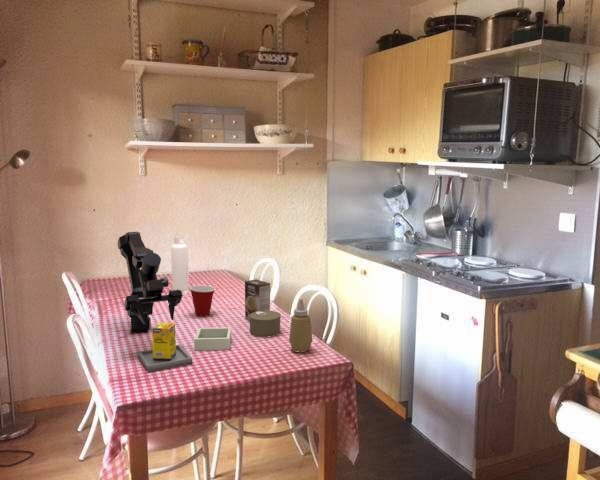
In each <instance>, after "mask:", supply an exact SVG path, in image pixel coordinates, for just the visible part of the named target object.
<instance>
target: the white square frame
mask: <svg viewBox="0 0 600 480" xmlns="http://www.w3.org/2000/svg"><path fill="white" fill-rule="evenodd" d="M231 343H232V327H199V328H197V331H196V334H195V336H194V351H226V350H228V351H229V350H230V349H231Z"/></svg>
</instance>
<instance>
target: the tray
mask: <svg viewBox="0 0 600 480" xmlns="http://www.w3.org/2000/svg"><path fill="white" fill-rule="evenodd" d="M137 358H138V359H139V361H140V363H141V364H142V365H143V366H144V368H145V369H146V371H147V373H152V372H157V371H163V370H169V369H174V368H178V367H184V366H188V365H193V358H192V356H191V355H190V354H189V353H188V352H187V351H186V350H185V348H183V347H182V346H181V345H180V344H176V355H175V356H174V357H173V358H172V359H171V361H159V360H153V348H152V349H146V350H145V349H144V350H140V351H137Z"/></svg>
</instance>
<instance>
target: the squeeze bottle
mask: <svg viewBox="0 0 600 480" xmlns="http://www.w3.org/2000/svg"><path fill="white" fill-rule="evenodd" d="M308 311H309V310H308V309H307V308H305V305H304V299H301V298H299V300H298V303H297V308H295V309H294V310H293V313H294V314H293V315H292V316H291V318H290V319H291V320H290V328H289V336H288V337H289V339H288V341H289V344H290V346H291V349H292V351H293V350H294V351H293V352H295V351H299V352H298V353H302V352H301V351H307V350H309V351H310V348H311V346H312V343H313V332H312V331H313V330H312V323H311V317H310V315H309V314H308V313H309V312H308ZM307 352H308V351H307Z"/></svg>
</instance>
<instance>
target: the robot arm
mask: <svg viewBox="0 0 600 480" xmlns="http://www.w3.org/2000/svg"><path fill="white" fill-rule="evenodd" d="M117 248H118V250H119V251H120V255H121V256H122V257H123V258H124V259H125V261H126V266H127V273H128V276H129V277H128V278H129V283H130V289H131V290H130V291H131V293H130V295H127V296H126V297H125V300H124V310H125V311H126V313H127V314H126V315H127V316H128V317H129V318H130V331H129V333H130V334H131V333H135V334H137V333H148V332H149V331H150V329H152V325H151V324H152V323H151V317H150V316H151V315H153V313H154V312H153V311H154V308H153V307H154V303H158V302H159V303H160V302H167V303H168V306H167V307H168V311H169V315H170V319H171V321H173V320H174V317H175V307H177V306H178V304H180V303H181V301H182V299H183V296H184V295H182V291H180V290H173V289H172V290H169V292H168V293H167V294H163V293H164V289H165V288H167V287H169V286H170V285H169V279H168V276H163V277H161V278H160V279H158V276H157V273H158V272H159V270H160V269H159V268H160V265H161V263H162V257H161V256H160V255H159V254H158V253H156V252H154V250H153V249H150V248H148V247H146V245H145V243H144V242H143V240H142V235H141V233H140V232H139V231H127V232H126V233H125V234H123V235H121V236H119V237H118V240H117Z"/></svg>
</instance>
